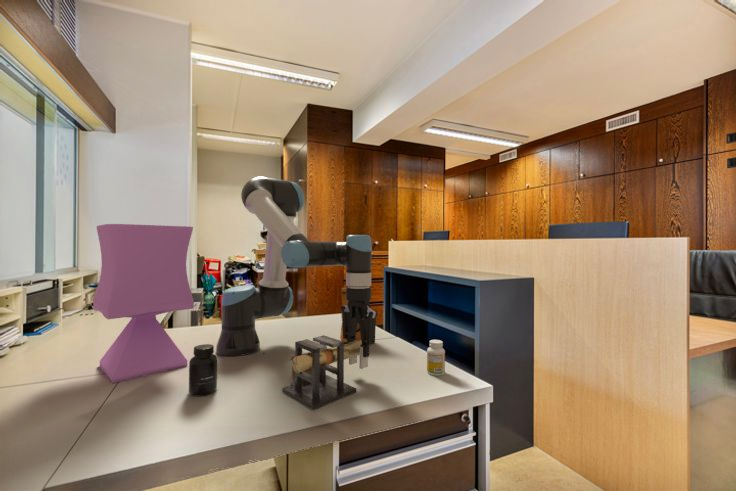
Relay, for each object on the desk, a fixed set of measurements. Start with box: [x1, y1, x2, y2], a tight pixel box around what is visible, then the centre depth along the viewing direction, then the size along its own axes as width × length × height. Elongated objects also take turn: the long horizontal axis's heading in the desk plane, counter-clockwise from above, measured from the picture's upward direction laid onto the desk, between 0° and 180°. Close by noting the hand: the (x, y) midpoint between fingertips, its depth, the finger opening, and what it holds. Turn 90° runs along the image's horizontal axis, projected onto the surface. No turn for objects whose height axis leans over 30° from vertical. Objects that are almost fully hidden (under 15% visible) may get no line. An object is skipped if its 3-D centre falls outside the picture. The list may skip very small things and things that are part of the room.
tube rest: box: [290, 351, 312, 381], centre depth 101 cm, size 6×8×6 cm
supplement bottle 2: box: [426, 339, 446, 377], centre depth 104 cm, size 5×5×10 cm
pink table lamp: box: [92, 223, 195, 384], centre depth 109 cm, size 22×22×45 cm
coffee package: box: [339, 287, 361, 343], centre depth 138 cm, size 10×12×22 cm
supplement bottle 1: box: [188, 343, 218, 397], centre depth 90 cm, size 7×7×12 cm
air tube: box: [291, 341, 366, 373], centre depth 94 cm, size 24×4×4 cm, turn 135°
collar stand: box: [282, 334, 357, 411], centre depth 90 cm, size 14×14×13 cm
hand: (358, 365), depth 100 cm, fingers closed on air tube, 4 cm apart
